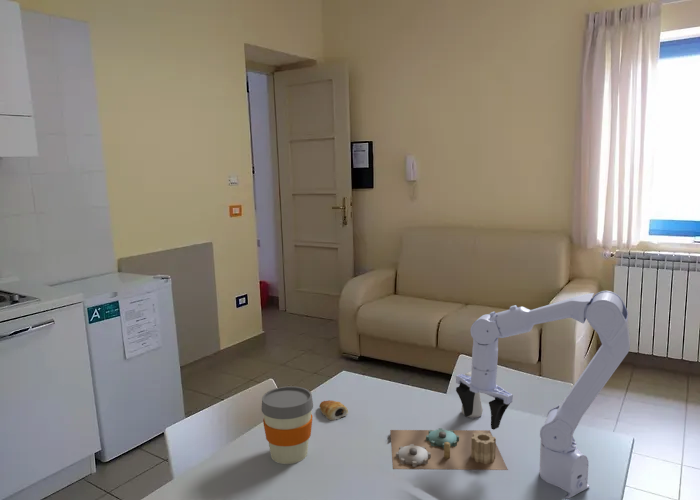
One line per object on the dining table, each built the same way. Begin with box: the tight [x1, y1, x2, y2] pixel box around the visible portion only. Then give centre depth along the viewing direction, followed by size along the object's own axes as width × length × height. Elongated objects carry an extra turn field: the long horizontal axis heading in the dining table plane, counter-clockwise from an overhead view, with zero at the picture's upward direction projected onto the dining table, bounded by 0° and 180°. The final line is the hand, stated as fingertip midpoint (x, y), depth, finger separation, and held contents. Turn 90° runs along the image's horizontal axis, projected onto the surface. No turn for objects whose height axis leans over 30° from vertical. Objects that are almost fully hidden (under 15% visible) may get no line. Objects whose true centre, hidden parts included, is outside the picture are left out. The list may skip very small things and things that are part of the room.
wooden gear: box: [471, 432, 497, 464], centre depth 121 cm, size 6×6×5 cm
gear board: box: [389, 427, 509, 471], centre depth 125 cm, size 26×18×5 cm
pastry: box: [319, 400, 349, 421], centre depth 148 cm, size 9×7×4 cm
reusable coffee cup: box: [261, 385, 314, 465], centre depth 126 cm, size 13×13×15 cm
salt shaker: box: [461, 371, 484, 419], centre depth 143 cm, size 6×6×13 cm
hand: (481, 421), depth 121 cm, fingers open, 7 cm apart
